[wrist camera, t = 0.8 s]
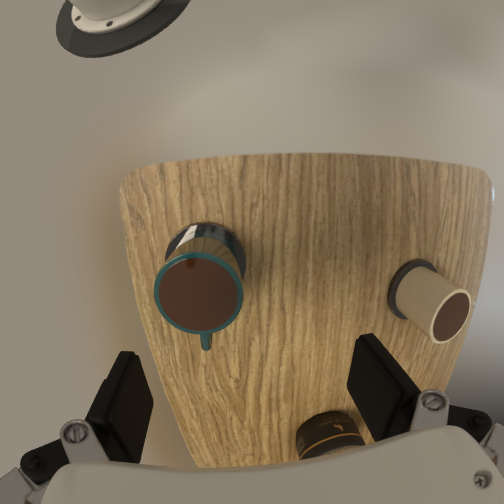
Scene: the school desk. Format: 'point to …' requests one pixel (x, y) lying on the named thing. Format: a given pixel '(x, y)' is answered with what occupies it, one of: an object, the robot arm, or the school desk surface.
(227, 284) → the cup front
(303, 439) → the jar
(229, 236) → the saucer front
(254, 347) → the school desk surface
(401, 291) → the cup back
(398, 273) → the dark grey round coaster
